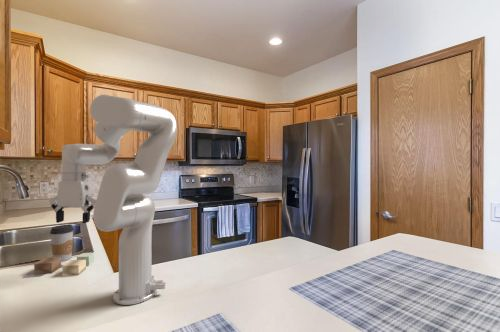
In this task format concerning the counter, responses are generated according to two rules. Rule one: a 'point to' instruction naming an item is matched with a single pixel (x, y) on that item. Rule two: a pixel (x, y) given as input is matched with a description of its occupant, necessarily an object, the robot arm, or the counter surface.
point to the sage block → (87, 258)
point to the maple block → (73, 267)
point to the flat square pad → (34, 274)
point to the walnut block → (47, 265)
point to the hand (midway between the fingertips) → (73, 222)
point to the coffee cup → (62, 241)
